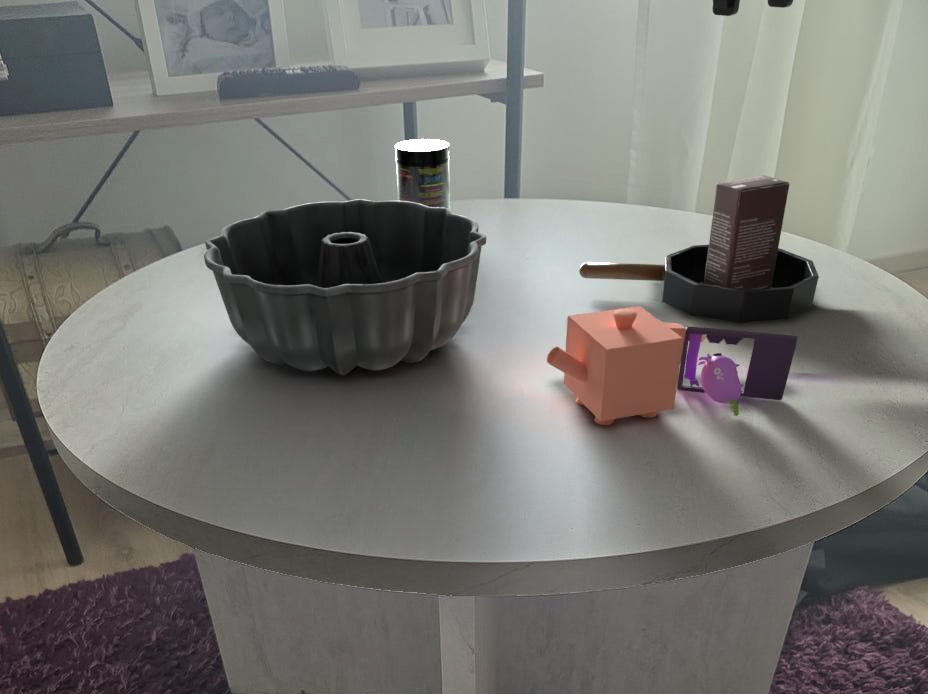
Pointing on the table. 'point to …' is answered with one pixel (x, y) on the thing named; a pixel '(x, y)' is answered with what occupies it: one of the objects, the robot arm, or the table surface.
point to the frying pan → (728, 304)
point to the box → (746, 232)
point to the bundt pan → (347, 281)
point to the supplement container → (423, 172)
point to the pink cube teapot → (621, 362)
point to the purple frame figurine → (721, 372)
